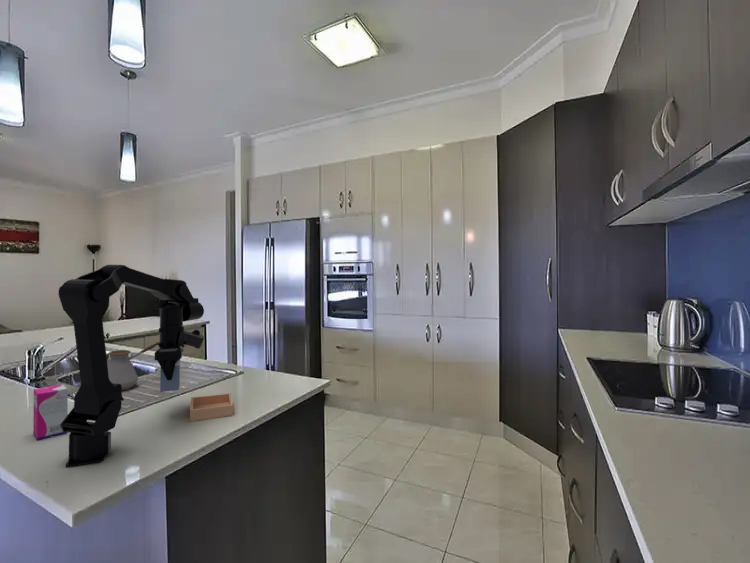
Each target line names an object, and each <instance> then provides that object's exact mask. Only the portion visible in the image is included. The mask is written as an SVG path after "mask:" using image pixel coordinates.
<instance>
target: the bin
mask: <svg viewBox="0 0 750 563" xmlns="http://www.w3.org/2000/svg"><path fill="white" fill-rule="evenodd" d="M232 399H233V398H232V393H220V394H211V395H203V396H193V397H191V398H190V405H189V406H190V407H189V422H196V421H204V420H212V419H218V417H219V418H225V417H224V416H226V417H231V416H230V415H233V416H234V403H233V400H232Z"/></svg>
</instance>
